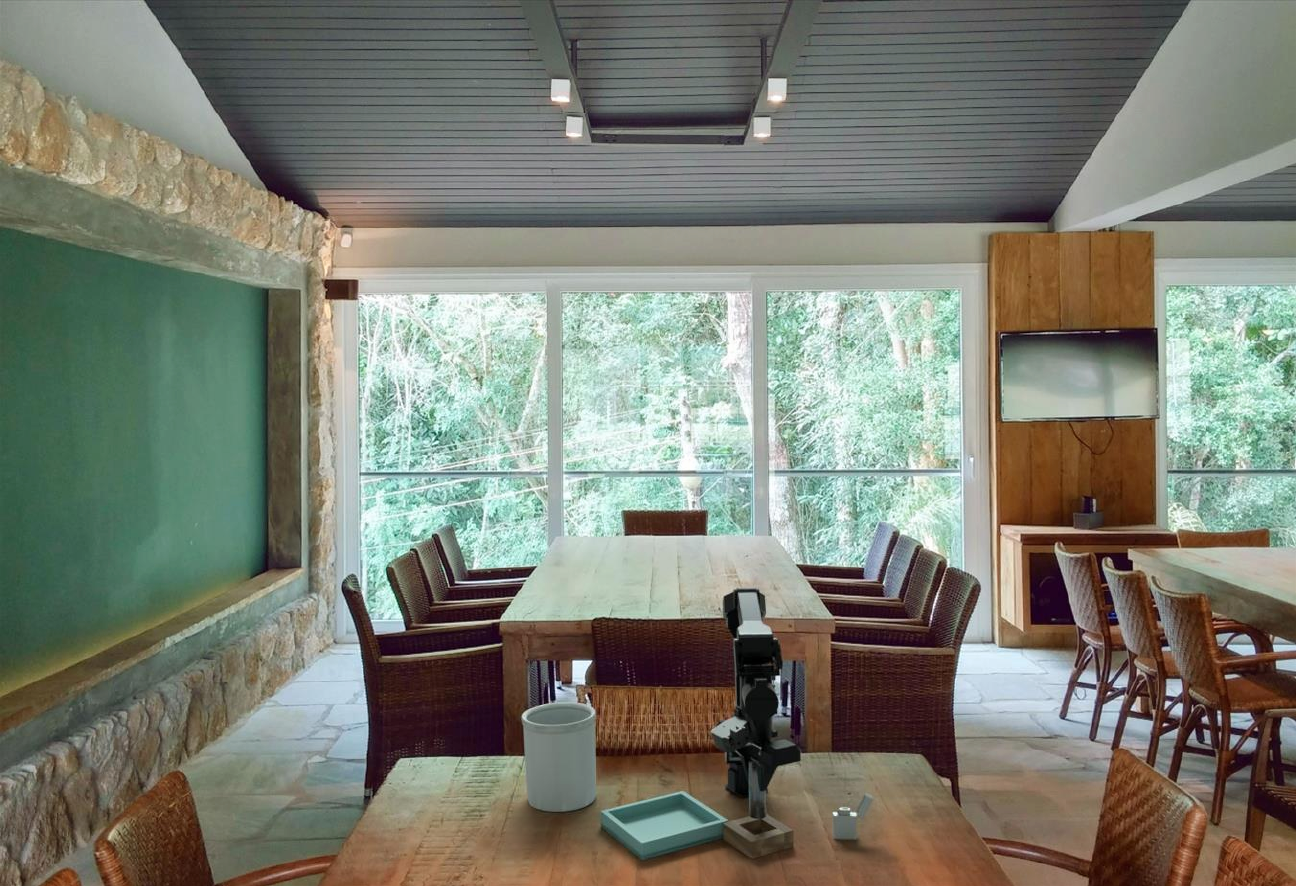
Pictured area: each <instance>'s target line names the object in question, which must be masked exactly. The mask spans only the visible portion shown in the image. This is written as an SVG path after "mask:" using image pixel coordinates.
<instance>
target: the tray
mask: <svg viewBox="0 0 1296 886" xmlns="http://www.w3.org/2000/svg"><path fill="white" fill-rule="evenodd" d="M726 822H729V820H728V819H727V818H725V817H724V816H722V815H721V814H720V813H718V812H716V811H714V810H713V809H712V808H710V807H708V806H707V805H705V804H704V803H702V802H701V801H699V800H698V799H697V798H694V797H693V796H692V795H690V794H689V793H687V792H685V791H684V790H680V791H675V792H674V793H673V792H672V793H669V794H665V795H661V796H657V797H653V798H648V799H644V800H639V801H636V802H631V803H627V804H624V805H619V806H616V807H610V808H608V809H607V808H605V809H603V810H600V828H602V829H603V830H605V831H606V833H608V834H609V835H611V836H612V837H613V838H614V839H616V840H617V841H618V842H619V843H620V844H621V845H623V846H624V847H625V848H626V849H627V850H629V851H630V852H631V853H633V854H634V855H635V856H636V857H637V858H638V859H640V860H641V861H645V860H648V859H653V858H655V857H659V856H662V855H666V854H667V855H668V854H670V853H674V852H678V851H681V850H684V849H688V848H693V847H696V846H700V845H704V844H706V842H707V843H709V842H710V843H711V842H714V841H717V840H721V839H723V823H726Z"/></svg>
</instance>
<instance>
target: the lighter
mask: <svg viewBox="0 0 1296 886" xmlns="http://www.w3.org/2000/svg"><path fill="white" fill-rule="evenodd" d="M861 798H862V799H861V801H860V803H859V804H858V807H857V809H856V810H855V811H851V808H850V807H839V808H838V809H837V810H836V811H833V812H832V838H833V840H857V839H858V832H857V831H858V830H857V829H858V828H857V827H858V825H857V824H858V822H857V819H858V818H860V819H862V820H864V819H865V817H866V815H867V813H868V811H869V809H870V807H871V805H872V803H873V802H874V797H873V795H872V794H869V793H867V792H865V793H864V794H863V797H861ZM857 817H858V818H857Z"/></svg>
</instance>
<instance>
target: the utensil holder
mask: <svg viewBox="0 0 1296 886" xmlns="http://www.w3.org/2000/svg"><path fill="white" fill-rule="evenodd" d="M596 713H597V712H596V710H595V708H594V707H593V706H591V705H588V704H586V703H581V702H570V701H562V702H561V701H559V702H558V701H557V702H550V703H545V704H541V705H536V706H534V707H531V708H529V709H527V710H525V711H524V712H523V713H522V714H521V723H522V727H523V746H524V765H525V766H524V767H525V780H526V795H527V801H528V804H529V806H531V807H532V808H534V809H536V810H539V811H544V812H549V813H551V812H552V813H561V812H562V813H563V812H564V813H565V812H572V811H576V810H579V809H582V808H585V807H587V806H589V805H591V804H592V803H593V802H594V801H595V799H596V797H597V759H596V758H597V755H596V718H597V714H596Z"/></svg>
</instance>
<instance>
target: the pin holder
mask: <svg viewBox="0 0 1296 886" xmlns="http://www.w3.org/2000/svg"><path fill="white" fill-rule="evenodd" d="M722 840H723V841H725V842H727V844H730V845H731V846H732V847H733V848H735V849H737V850H738V851H740V852H741V853H742V854H744V855H745V856H747V857H748V858H749V859H751V860H753V859H757V858H759V857H760V858H761V857H763V856H767V855H770V854H773V853H777V852H780V851H784V850H787V849H791V848H794V840H795V839H794V829H792V828H790V827H789V826H787V825H785V824H784V823H782V822H780V821H779V820H778V819H776V818H774V817H772V816H770V815H769V814H767V813H766V817H765V818H763V819H754V818H751V817H750V816H746V817H742V818H738V819H734V820H733V819H732V820H730V821H729V820H728V822H726V823H723V838H722Z"/></svg>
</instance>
